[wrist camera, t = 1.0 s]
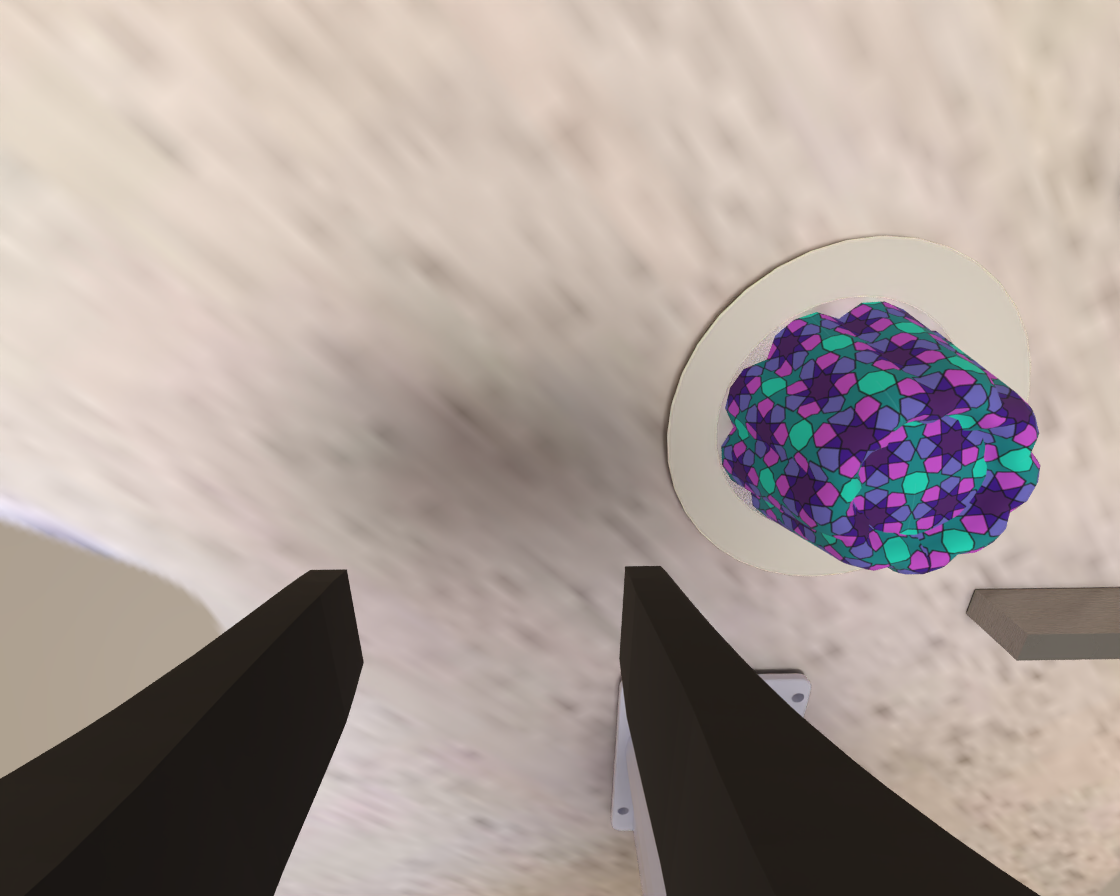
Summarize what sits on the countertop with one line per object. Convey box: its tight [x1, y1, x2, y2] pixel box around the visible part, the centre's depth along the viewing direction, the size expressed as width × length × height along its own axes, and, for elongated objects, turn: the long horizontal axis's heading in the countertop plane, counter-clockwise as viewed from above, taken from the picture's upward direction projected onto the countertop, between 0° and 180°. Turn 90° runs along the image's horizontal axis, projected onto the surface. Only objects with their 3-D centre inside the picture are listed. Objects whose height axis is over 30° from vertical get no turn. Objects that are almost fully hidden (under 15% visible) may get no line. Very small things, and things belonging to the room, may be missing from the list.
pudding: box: [667, 236, 1040, 577], centre depth 16 cm, size 12×12×5 cm
